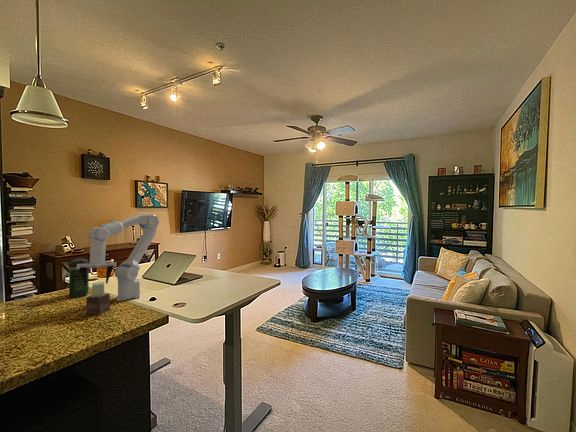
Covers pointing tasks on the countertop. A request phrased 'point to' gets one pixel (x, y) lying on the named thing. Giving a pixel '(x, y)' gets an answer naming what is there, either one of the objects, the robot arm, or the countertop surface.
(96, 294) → the sage block
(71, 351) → the countertop surface
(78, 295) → the coffee jar
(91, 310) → the box
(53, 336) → the countertop surface
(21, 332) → the countertop surface
